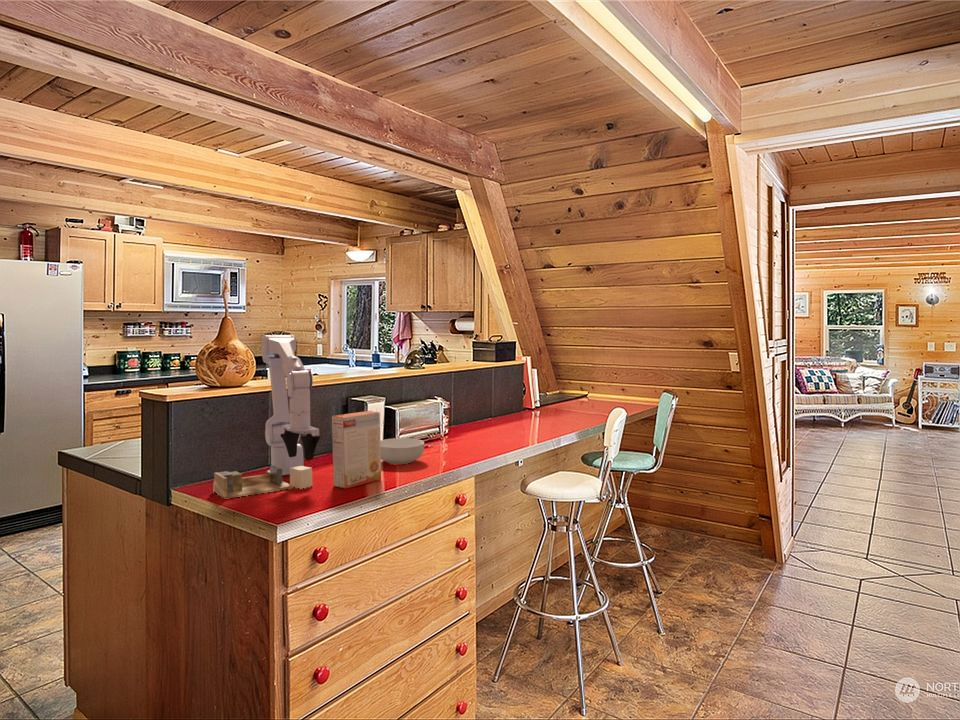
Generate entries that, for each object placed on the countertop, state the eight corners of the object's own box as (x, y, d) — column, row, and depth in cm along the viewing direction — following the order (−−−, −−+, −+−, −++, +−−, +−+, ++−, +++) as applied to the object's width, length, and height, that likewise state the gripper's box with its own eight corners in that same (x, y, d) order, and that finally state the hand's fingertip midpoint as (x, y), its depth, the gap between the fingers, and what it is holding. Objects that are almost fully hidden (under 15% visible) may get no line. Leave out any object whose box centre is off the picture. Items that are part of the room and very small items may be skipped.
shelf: (279, 482, 191) (279, 462, 191) (292, 488, 183) (292, 468, 183) (213, 492, 179) (213, 472, 179) (224, 499, 171) (224, 478, 171)
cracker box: (368, 477, 197) (368, 410, 196) (382, 480, 193) (381, 411, 192) (331, 486, 186) (330, 415, 185) (345, 489, 182) (344, 416, 181)
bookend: (275, 480, 189) (275, 465, 189) (282, 483, 185) (282, 468, 184) (270, 480, 188) (270, 466, 188) (277, 484, 184) (276, 469, 183)
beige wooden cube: (301, 484, 189) (301, 465, 189) (312, 486, 186) (312, 467, 186) (290, 486, 186) (289, 468, 185) (301, 489, 183) (300, 470, 182)
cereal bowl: (364, 464, 215) (364, 444, 214) (393, 456, 229) (393, 436, 229) (406, 470, 207) (406, 448, 206) (433, 460, 222) (433, 440, 221)
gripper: (272, 411, 186) (273, 457, 186) (304, 415, 177) (305, 463, 178) (292, 408, 191) (293, 453, 192) (324, 412, 183) (325, 459, 183)
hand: (300, 458), depth 185 cm, fingers open, 7 cm apart
